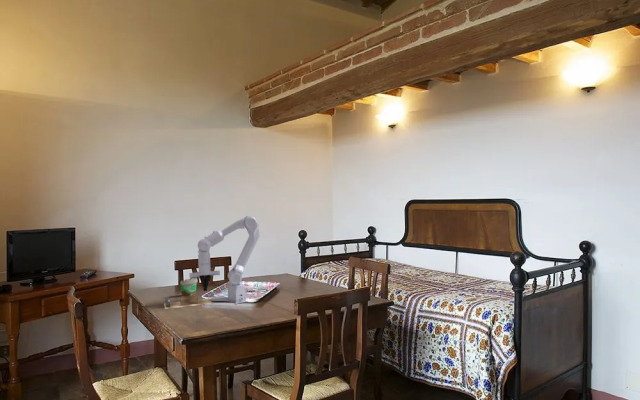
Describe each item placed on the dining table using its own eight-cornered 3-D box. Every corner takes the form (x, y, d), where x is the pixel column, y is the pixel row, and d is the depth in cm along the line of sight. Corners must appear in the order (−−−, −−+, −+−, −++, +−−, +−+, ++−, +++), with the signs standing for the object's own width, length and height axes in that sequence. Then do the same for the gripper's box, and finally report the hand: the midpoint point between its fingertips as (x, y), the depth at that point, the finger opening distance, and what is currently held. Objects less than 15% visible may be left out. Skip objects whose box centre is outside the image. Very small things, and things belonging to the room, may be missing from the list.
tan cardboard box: (196, 300, 228) (196, 294, 228) (198, 303, 223) (198, 297, 223) (180, 302, 225) (179, 296, 225) (181, 305, 220) (181, 299, 220)
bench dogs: (169, 304, 224) (169, 296, 224) (170, 306, 218) (170, 299, 218) (165, 304, 223) (164, 297, 223) (165, 307, 217) (165, 300, 217)
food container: (191, 300, 237) (190, 281, 236) (180, 300, 238) (179, 280, 238) (202, 294, 249) (201, 276, 248) (191, 294, 250) (191, 276, 250)
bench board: (209, 301, 234) (209, 298, 234) (212, 306, 223) (212, 303, 223) (163, 306, 225) (163, 303, 225) (165, 312, 214) (165, 309, 214)
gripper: (217, 261, 233) (218, 287, 233) (188, 263, 228) (189, 290, 228) (220, 263, 227) (221, 290, 227) (190, 265, 221) (190, 293, 221)
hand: (205, 290), depth 227 cm, fingers closed
